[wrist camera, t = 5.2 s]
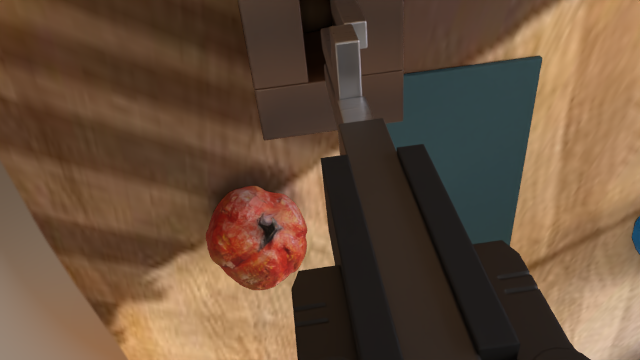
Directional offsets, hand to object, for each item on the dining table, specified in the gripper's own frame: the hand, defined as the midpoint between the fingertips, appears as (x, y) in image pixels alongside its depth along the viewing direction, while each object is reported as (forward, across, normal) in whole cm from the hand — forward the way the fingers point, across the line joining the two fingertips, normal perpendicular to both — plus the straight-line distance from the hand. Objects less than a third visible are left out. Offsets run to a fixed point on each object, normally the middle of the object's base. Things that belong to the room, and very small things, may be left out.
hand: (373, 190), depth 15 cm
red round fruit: (+21, -6, -17) cm, 27 cm away
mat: (+20, +9, -16) cm, 28 cm away
